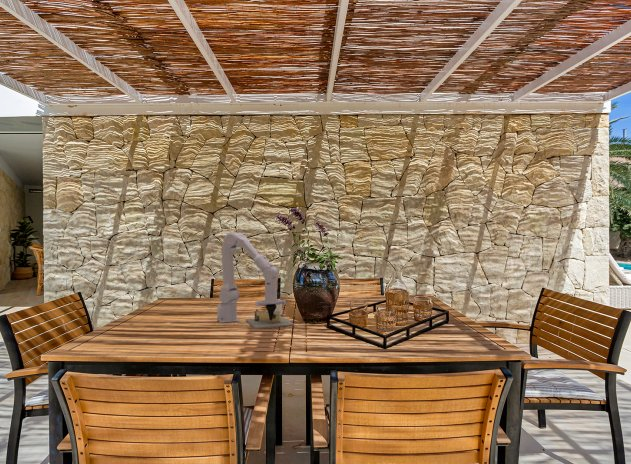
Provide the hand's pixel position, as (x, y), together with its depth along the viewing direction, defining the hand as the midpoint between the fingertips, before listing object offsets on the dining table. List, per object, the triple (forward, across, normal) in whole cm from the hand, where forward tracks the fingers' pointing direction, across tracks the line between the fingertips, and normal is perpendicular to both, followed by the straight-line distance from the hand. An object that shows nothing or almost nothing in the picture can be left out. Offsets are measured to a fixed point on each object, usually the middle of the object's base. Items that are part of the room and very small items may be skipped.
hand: (270, 320), depth 223 cm
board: (+2, 0, +3) cm, 4 cm away
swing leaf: (+1, -1, +4) cm, 4 cm away
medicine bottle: (+2, +8, +21) cm, 23 cm away
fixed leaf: (+1, +1, +8) cm, 8 cm away
